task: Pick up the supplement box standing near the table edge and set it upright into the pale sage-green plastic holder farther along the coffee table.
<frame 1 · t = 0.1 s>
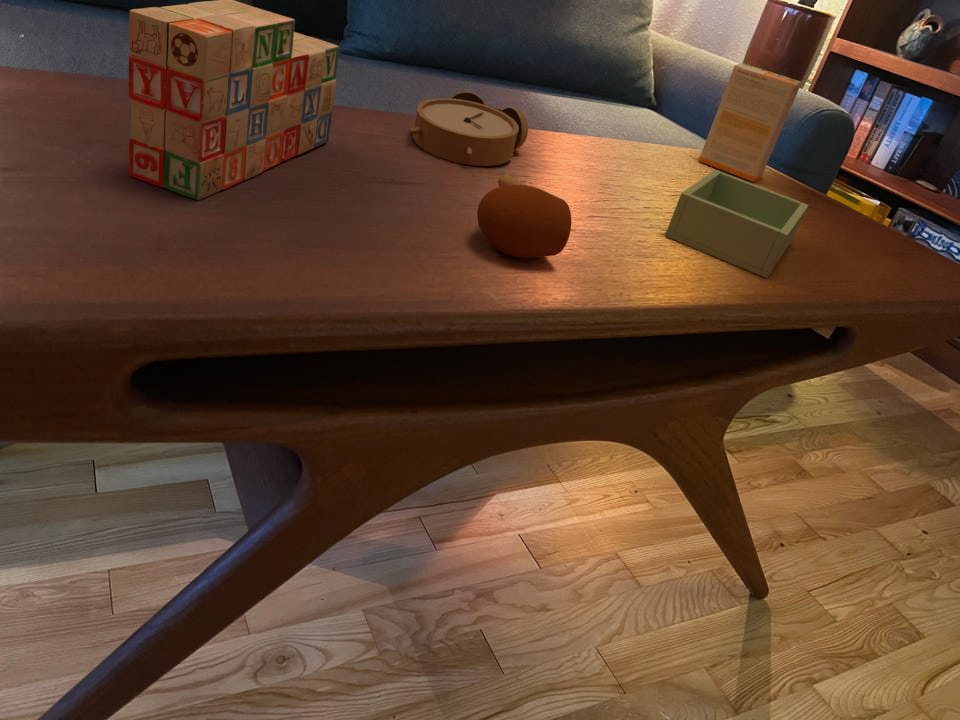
stack of blocks: (240, 160, 68), on the table
alarm clock: (468, 147, 88), on the table
supplement box: (728, 171, 107), on the table
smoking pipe: (501, 225, 70), on the table
holder: (730, 240, 81), on the table
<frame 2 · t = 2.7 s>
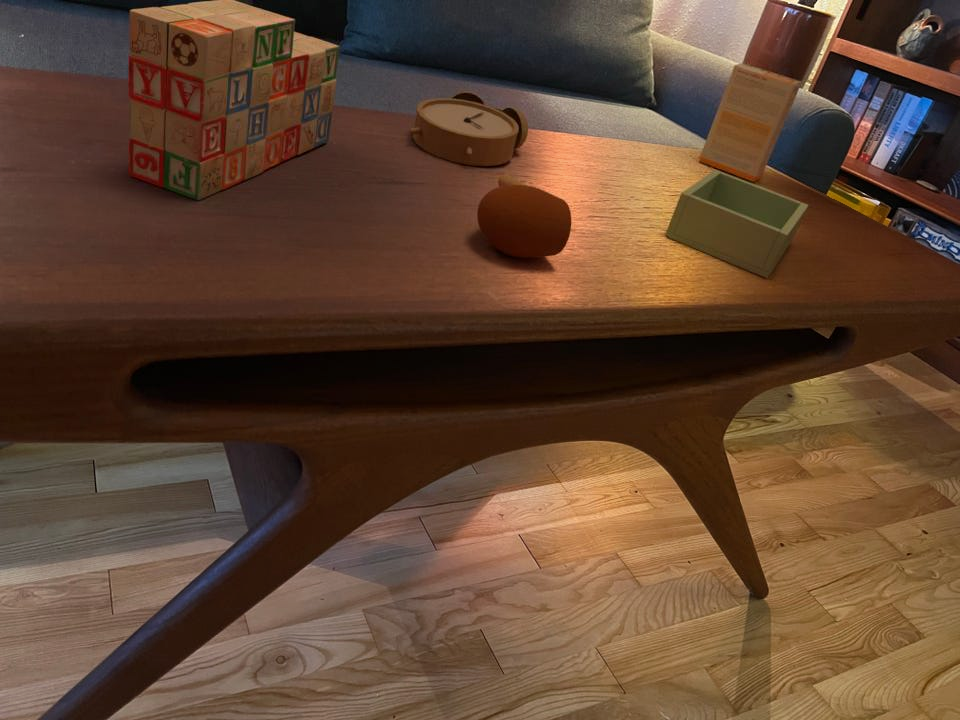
hand: (804, 3, 96), 22 cm above the table, tool pointing down, fingers open, 13 cm apart
nothing on the table moved.
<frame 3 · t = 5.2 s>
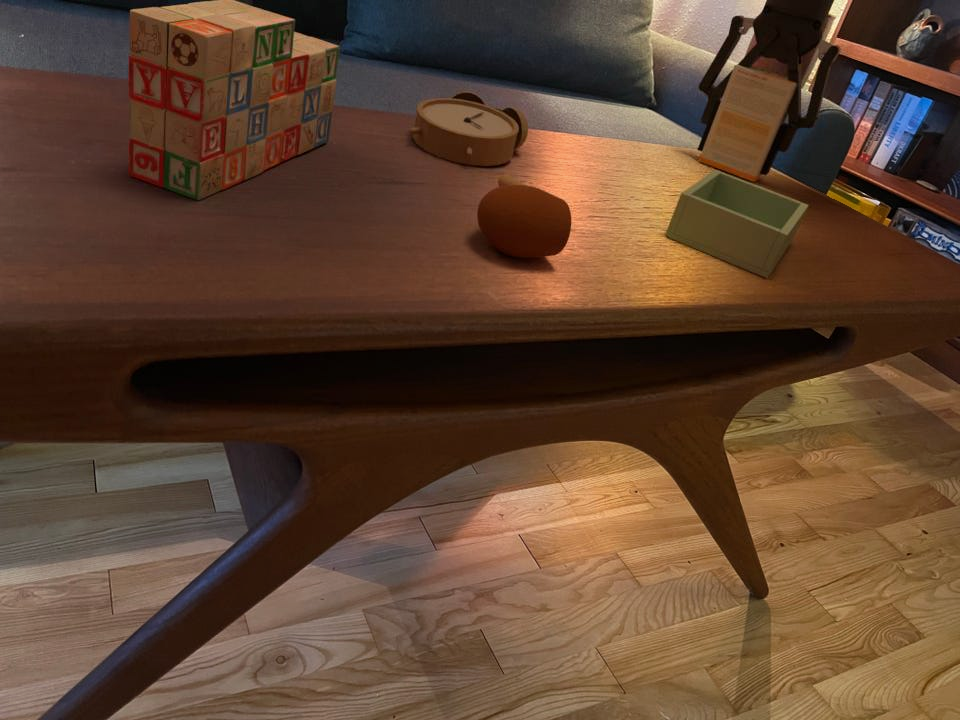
hand: (733, 160, 106), 1 cm above the table, tool pointing down, fingers closed on supplement box, 8 cm apart
supplement box: (728, 171, 107), on the table, touching gripper
everything else where it was.
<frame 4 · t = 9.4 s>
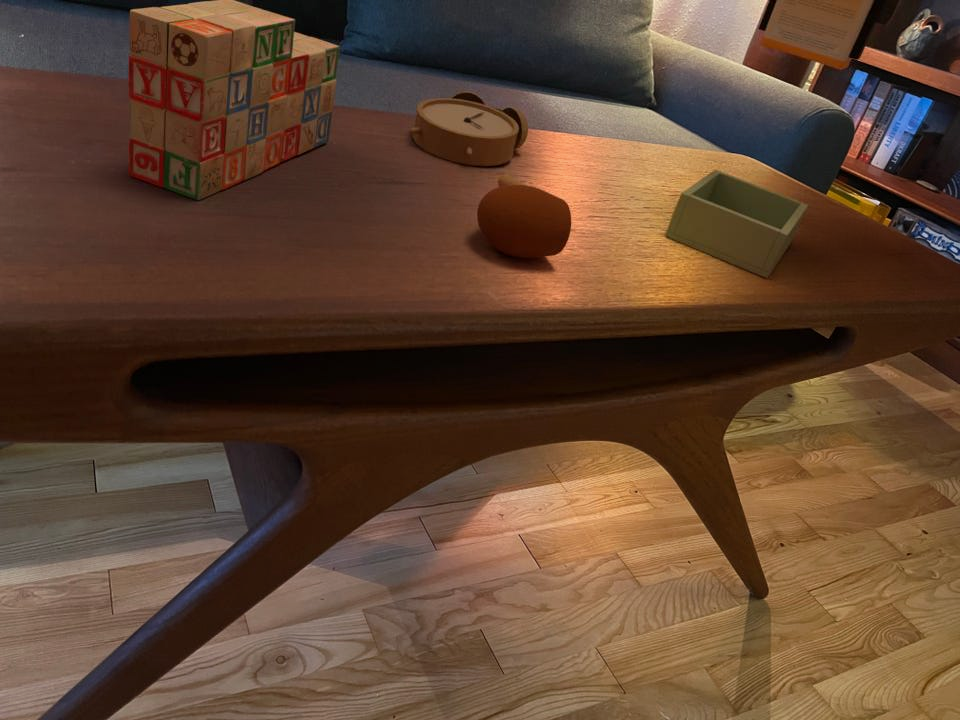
hand: (808, 43, 76), 19 cm above the table, tool pointing down, fingers closed on supplement box, 8 cm apart
supplement box: (801, 59, 77), point 18 cm above the table, touching gripper
everything else where it was.
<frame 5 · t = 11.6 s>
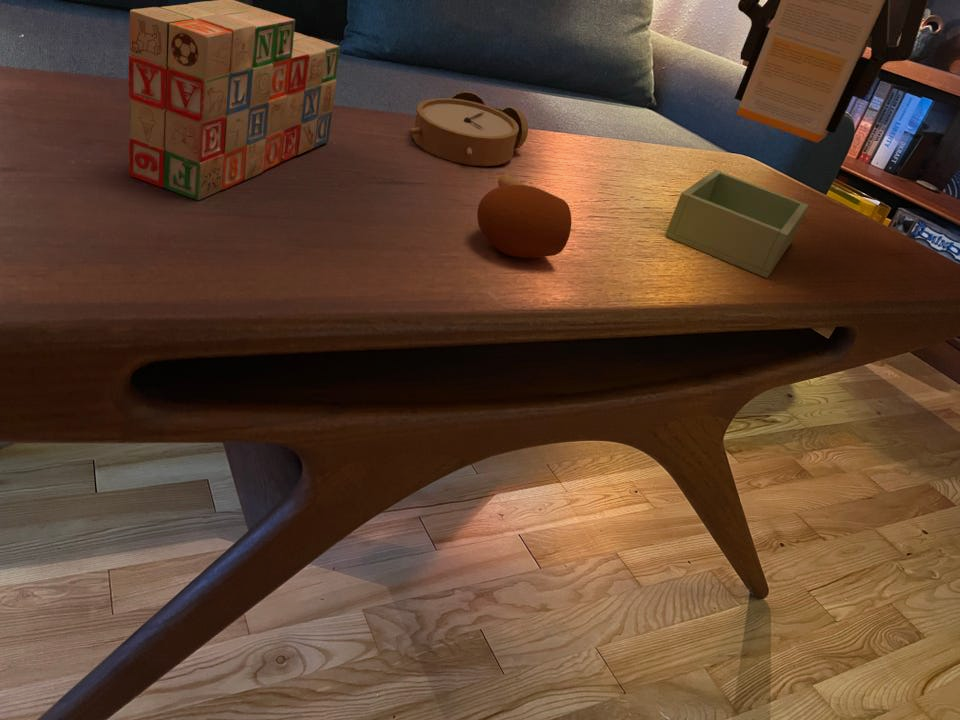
hand: (785, 113, 74), 13 cm above the table, tool pointing down, fingers closed on supplement box, 8 cm apart
supplement box: (778, 128, 75), point 12 cm above the table, touching gripper
everything else where it was.
when the fingers open (5 cm above the table, at t = 13.8 s): supplement box drops 1 cm, resting on holder.
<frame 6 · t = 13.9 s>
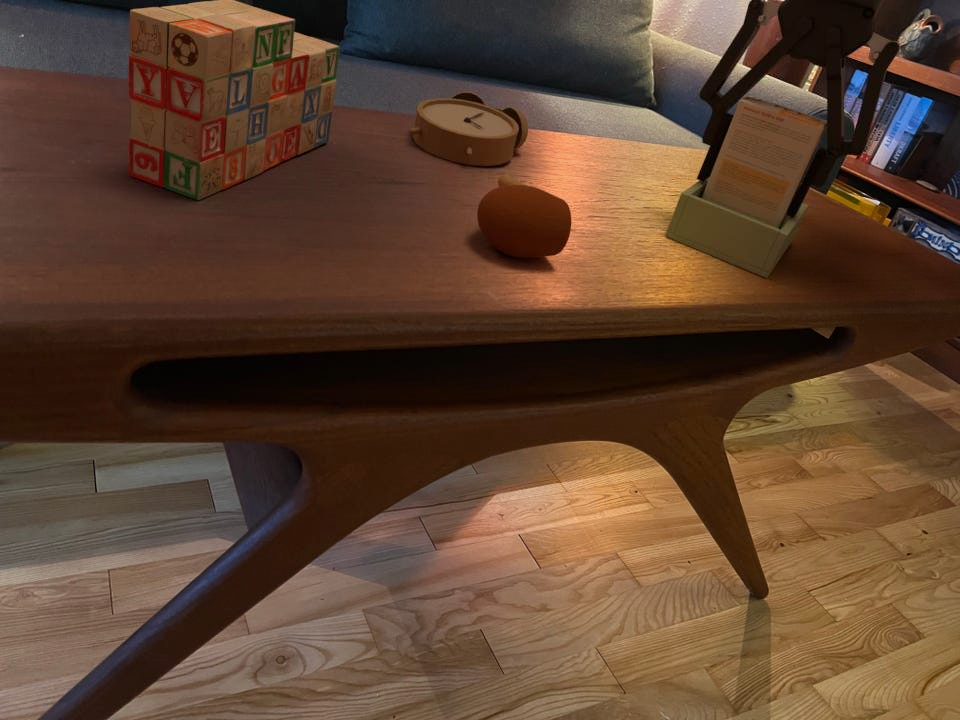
hand: (746, 195, 79), 5 cm above the table, tool pointing down, fingers open, 9 cm apart
supplement box: (731, 236, 81), resting on holder
everything else where it was.
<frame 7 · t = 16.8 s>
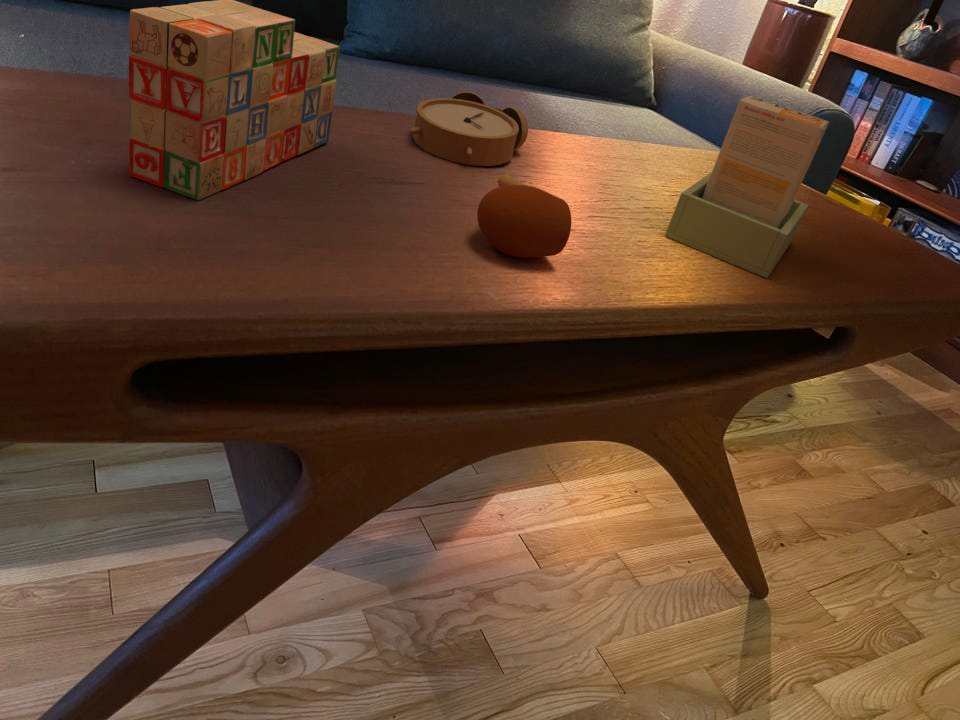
hand: (848, 3, 70), 24 cm above the table, tool pointing down, fingers open, 13 cm apart
nothing on the table moved.
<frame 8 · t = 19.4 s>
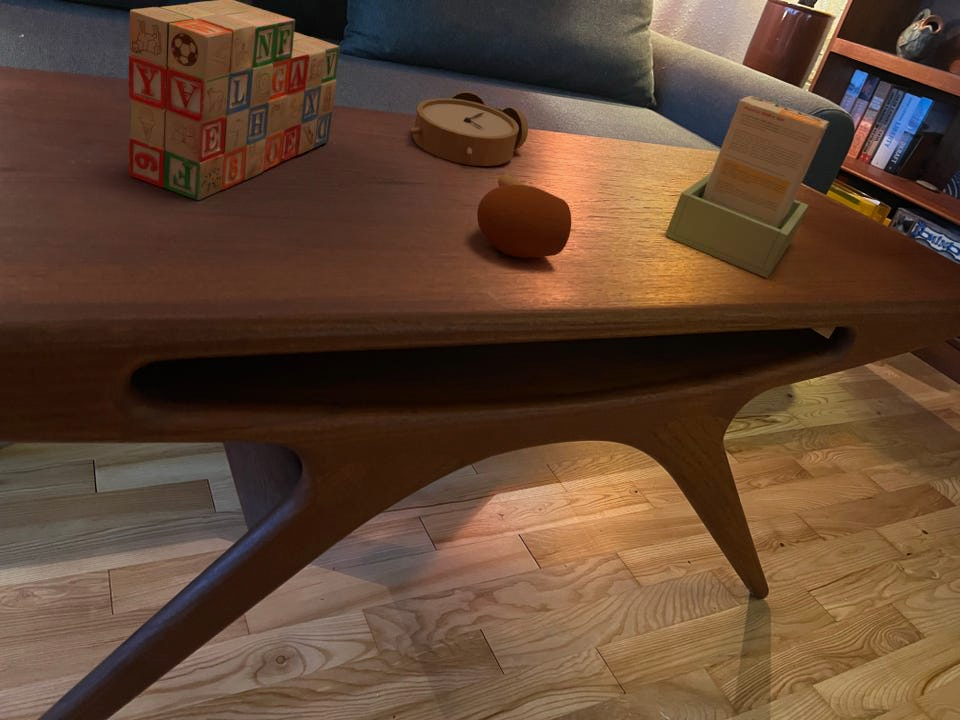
nothing on the table moved.
at the end: supplement box inside the target area in the holder (0.1 cm from its centre), point 0.4 cm above the holder's base; supplement box tilted 0°; the gripper is holding nothing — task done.
